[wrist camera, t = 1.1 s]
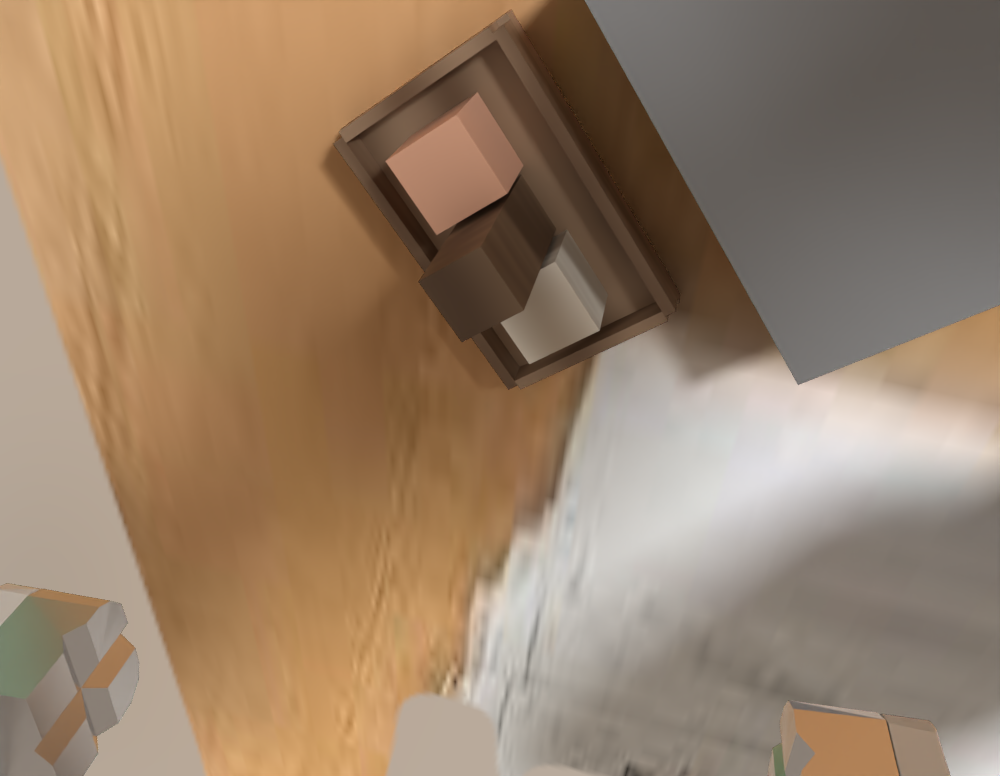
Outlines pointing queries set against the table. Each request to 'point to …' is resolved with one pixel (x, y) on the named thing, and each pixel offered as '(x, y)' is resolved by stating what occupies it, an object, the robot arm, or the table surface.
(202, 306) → the table surface
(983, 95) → the loading dock
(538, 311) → the cream block
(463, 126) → the terracotta block
